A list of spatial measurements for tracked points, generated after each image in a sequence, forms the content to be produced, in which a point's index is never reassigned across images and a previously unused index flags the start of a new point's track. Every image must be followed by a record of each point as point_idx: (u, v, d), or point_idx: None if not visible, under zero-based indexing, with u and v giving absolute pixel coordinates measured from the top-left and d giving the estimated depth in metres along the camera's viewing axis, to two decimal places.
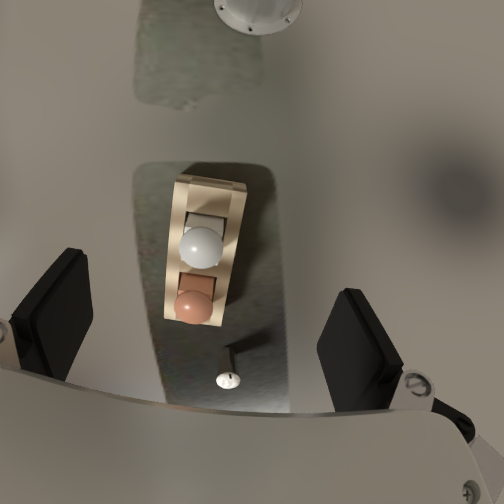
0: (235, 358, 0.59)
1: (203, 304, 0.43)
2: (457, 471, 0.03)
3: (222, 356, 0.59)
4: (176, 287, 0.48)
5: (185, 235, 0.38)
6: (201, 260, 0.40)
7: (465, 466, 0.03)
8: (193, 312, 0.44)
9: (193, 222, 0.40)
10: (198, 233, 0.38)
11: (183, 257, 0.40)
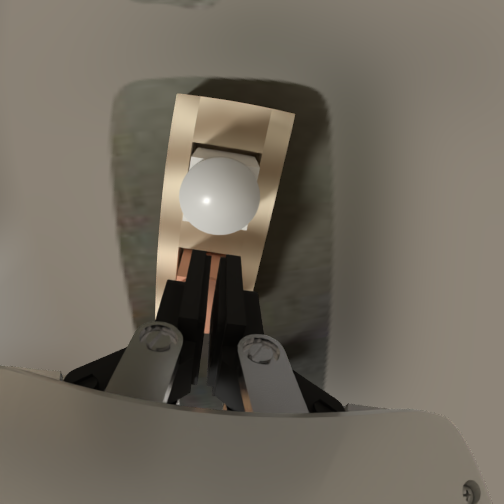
0: None
1: None
2: (457, 471, 0.03)
3: None
4: (174, 274, 0.30)
5: (192, 171, 0.20)
6: (219, 219, 0.22)
7: (465, 466, 0.03)
8: None
9: (206, 154, 0.22)
10: (216, 166, 0.20)
11: (186, 213, 0.22)
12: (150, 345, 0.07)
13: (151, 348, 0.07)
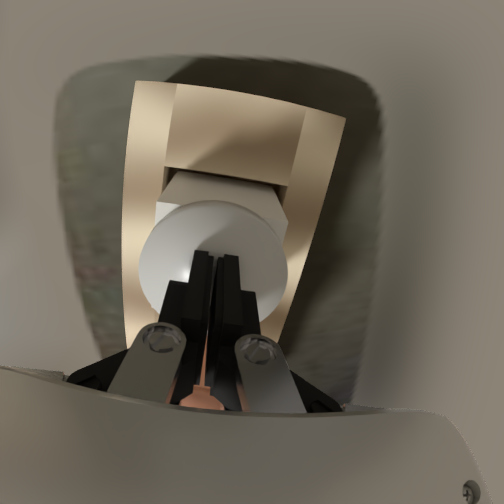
0: None
1: None
2: (457, 471, 0.03)
3: None
4: None
5: (157, 232, 0.10)
6: None
7: (465, 466, 0.03)
8: None
9: (187, 191, 0.12)
10: (204, 224, 0.10)
11: (155, 303, 0.12)
12: (153, 346, 0.07)
13: (154, 349, 0.07)
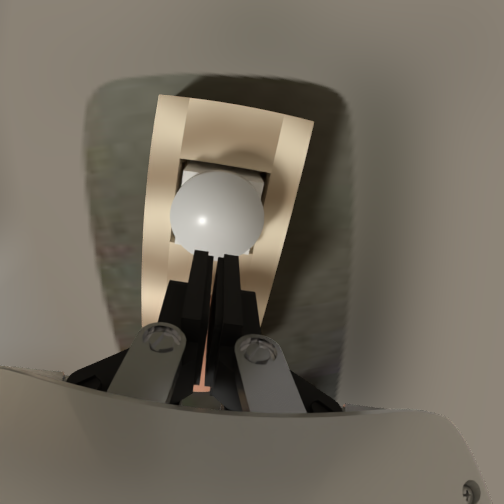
0: None
1: None
2: (457, 471, 0.03)
3: None
4: None
5: (184, 187, 0.17)
6: (217, 243, 0.19)
7: (465, 466, 0.03)
8: None
9: (201, 167, 0.19)
10: (212, 182, 0.17)
11: (179, 236, 0.19)
12: (153, 346, 0.07)
13: (154, 349, 0.07)
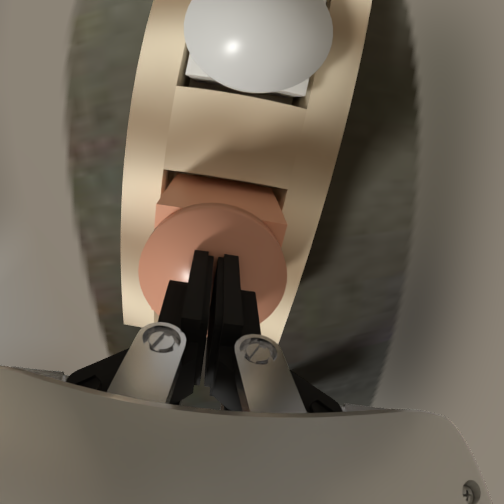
0: None
1: (253, 260, 0.11)
2: (457, 471, 0.03)
3: None
4: (153, 227, 0.15)
5: None
6: (258, 63, 0.10)
7: (465, 466, 0.03)
8: None
9: None
10: None
11: (196, 51, 0.09)
12: (153, 346, 0.07)
13: (154, 349, 0.07)
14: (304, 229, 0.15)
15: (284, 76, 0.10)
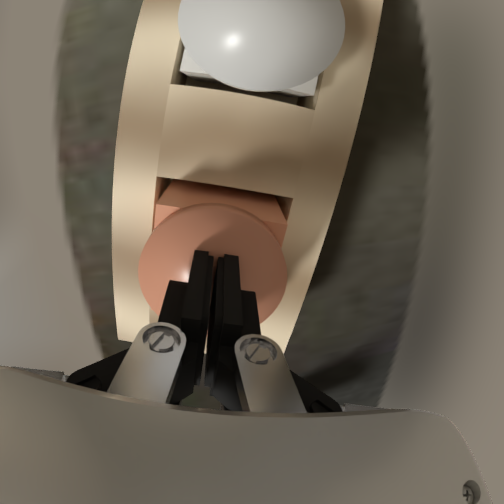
0: None
1: (253, 260, 0.11)
2: (457, 471, 0.03)
3: None
4: (147, 239, 0.14)
5: None
6: (262, 57, 0.09)
7: (465, 466, 0.03)
8: None
9: None
10: None
11: (191, 44, 0.08)
12: (153, 346, 0.07)
13: (154, 349, 0.07)
14: (311, 241, 0.14)
15: (291, 73, 0.09)
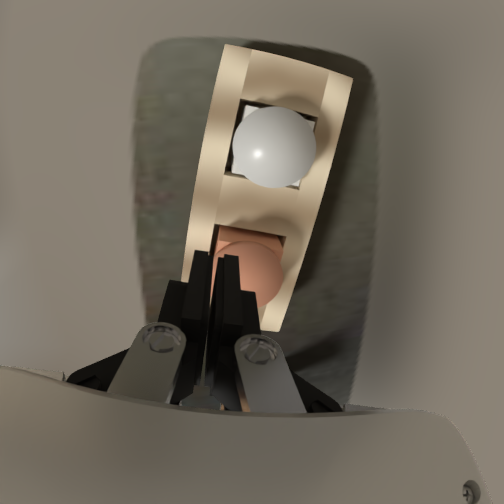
0: None
1: (266, 269, 0.23)
2: (457, 471, 0.03)
3: None
4: None
5: (248, 117, 0.19)
6: (273, 171, 0.21)
7: (465, 466, 0.03)
8: (245, 286, 0.24)
9: None
10: (274, 115, 0.19)
11: (239, 162, 0.20)
12: (153, 346, 0.07)
13: (154, 349, 0.07)
14: (296, 259, 0.26)
15: (287, 178, 0.21)
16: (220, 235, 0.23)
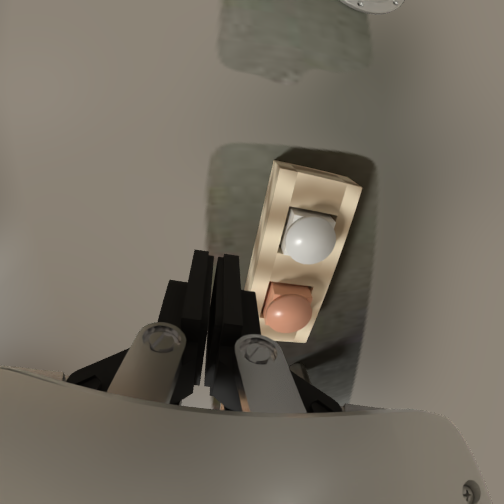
0: (308, 375, 0.51)
1: (302, 309, 0.37)
2: (457, 471, 0.03)
3: None
4: (262, 300, 0.39)
5: (296, 225, 0.33)
6: (309, 255, 0.34)
7: (465, 466, 0.03)
8: (289, 319, 0.38)
9: (299, 210, 0.35)
10: (311, 223, 0.33)
11: (289, 251, 0.34)
12: (153, 346, 0.07)
13: (154, 349, 0.07)
14: (319, 299, 0.40)
15: (317, 258, 0.35)
16: (274, 289, 0.38)
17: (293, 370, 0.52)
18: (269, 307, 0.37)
